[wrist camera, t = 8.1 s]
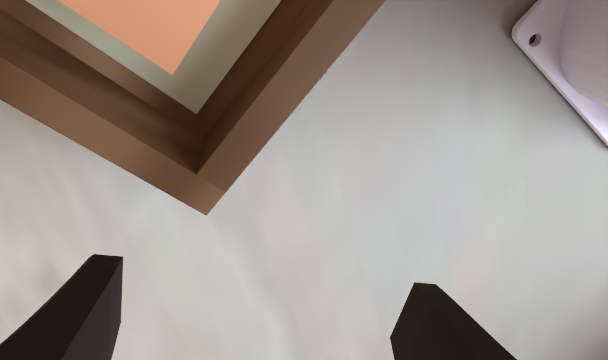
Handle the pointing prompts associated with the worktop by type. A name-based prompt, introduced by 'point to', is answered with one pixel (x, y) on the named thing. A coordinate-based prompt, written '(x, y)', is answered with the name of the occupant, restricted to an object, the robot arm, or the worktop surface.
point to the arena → (174, 85)
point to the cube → (150, 24)
